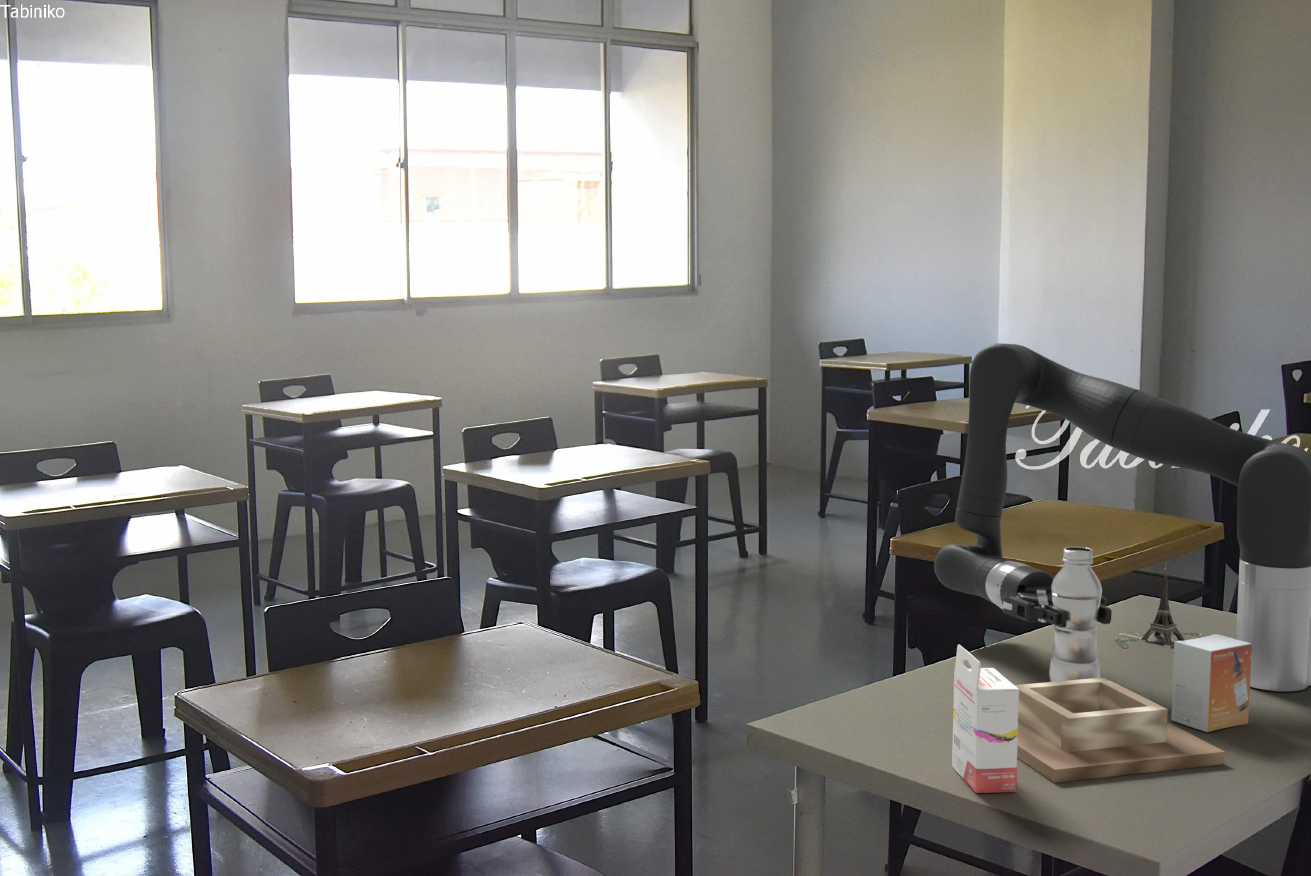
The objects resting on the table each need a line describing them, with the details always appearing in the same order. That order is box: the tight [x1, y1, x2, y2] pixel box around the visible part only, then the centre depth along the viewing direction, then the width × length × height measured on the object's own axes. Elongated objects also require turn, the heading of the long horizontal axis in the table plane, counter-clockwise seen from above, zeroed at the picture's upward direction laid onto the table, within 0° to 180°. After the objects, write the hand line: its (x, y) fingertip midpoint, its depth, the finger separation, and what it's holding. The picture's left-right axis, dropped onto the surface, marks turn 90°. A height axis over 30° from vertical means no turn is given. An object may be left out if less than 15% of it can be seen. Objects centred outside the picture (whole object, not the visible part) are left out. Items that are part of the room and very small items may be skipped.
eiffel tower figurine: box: [1113, 564, 1203, 649], centre depth 197 cm, size 15×10×13 cm
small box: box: [1170, 633, 1252, 733], centre depth 159 cm, size 8×6×10 cm
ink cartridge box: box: [951, 644, 1019, 794], centre depth 141 cm, size 9×5×15 cm, turn 5°
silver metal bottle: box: [1048, 546, 1103, 682], centre depth 171 cm, size 6×7×20 cm
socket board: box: [1014, 677, 1226, 783], centre depth 153 cm, size 22×22×6 cm
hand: (1086, 618), depth 168 cm, fingers closed on silver metal bottle, 6 cm apart
